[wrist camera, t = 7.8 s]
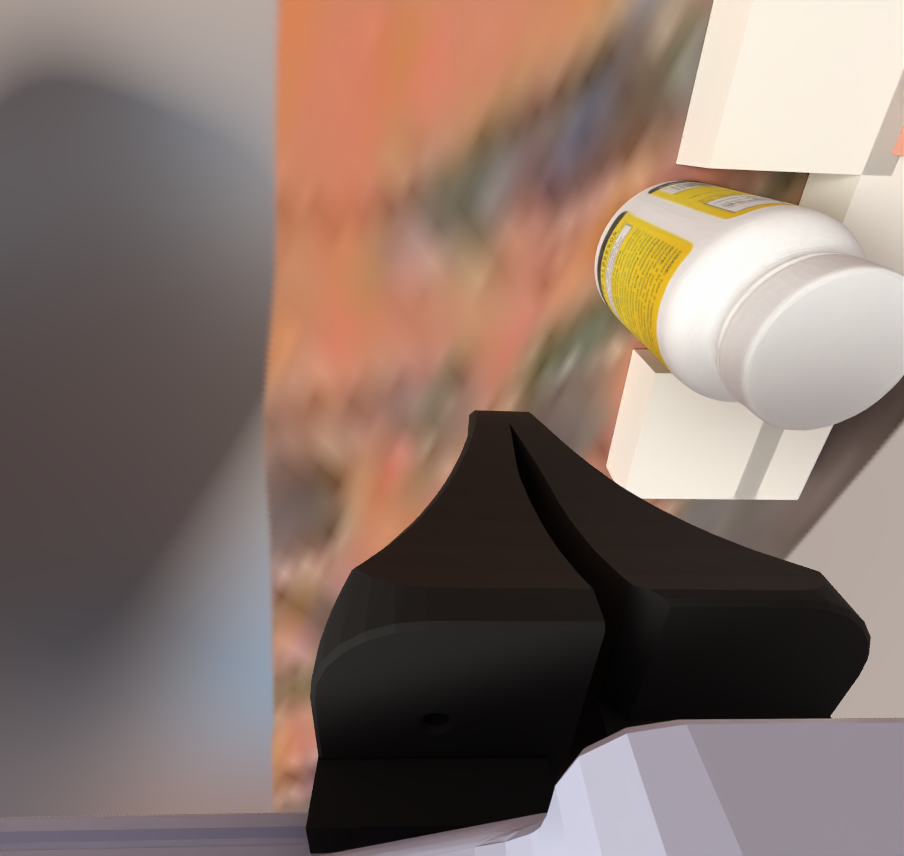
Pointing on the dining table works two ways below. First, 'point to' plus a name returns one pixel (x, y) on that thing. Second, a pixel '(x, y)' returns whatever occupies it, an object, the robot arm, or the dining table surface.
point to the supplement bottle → (755, 301)
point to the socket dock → (827, 190)
